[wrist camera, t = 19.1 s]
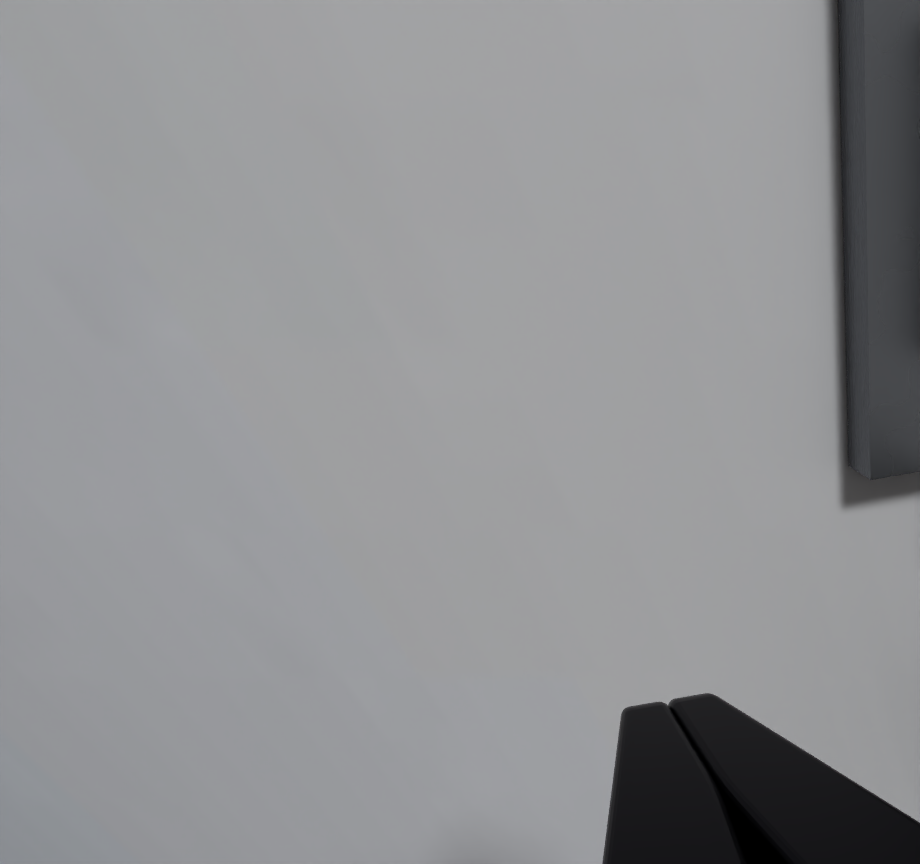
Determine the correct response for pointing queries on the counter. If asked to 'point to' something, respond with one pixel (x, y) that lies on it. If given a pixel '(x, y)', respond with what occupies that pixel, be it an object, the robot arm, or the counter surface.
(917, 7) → the vise
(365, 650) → the counter surface
